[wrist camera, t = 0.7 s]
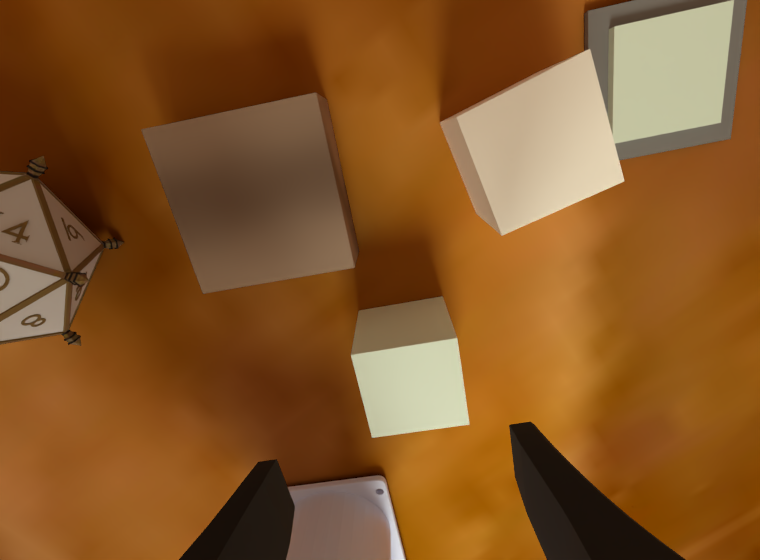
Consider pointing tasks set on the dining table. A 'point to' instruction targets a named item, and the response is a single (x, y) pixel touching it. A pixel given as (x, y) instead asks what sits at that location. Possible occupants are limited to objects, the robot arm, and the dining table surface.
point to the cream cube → (536, 145)
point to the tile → (667, 71)
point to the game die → (42, 259)
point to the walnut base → (257, 192)
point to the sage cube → (409, 368)
